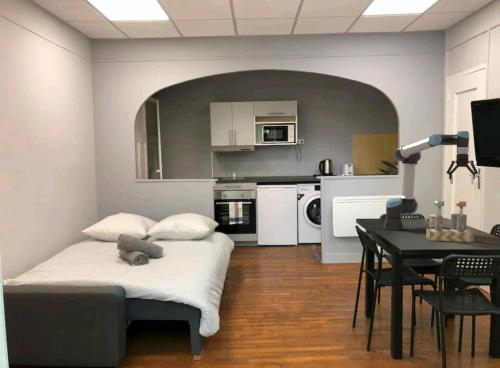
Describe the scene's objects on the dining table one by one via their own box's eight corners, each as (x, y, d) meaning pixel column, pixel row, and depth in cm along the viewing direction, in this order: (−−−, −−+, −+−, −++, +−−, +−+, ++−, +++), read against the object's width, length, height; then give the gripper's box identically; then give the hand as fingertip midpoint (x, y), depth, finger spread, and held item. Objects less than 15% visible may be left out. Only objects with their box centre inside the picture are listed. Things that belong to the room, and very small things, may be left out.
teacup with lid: (439, 226, 352) (440, 212, 351) (442, 228, 343) (443, 213, 342) (424, 225, 354) (424, 211, 353) (426, 227, 345) (427, 213, 344)
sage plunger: (435, 222, 298) (435, 201, 297) (433, 220, 304) (434, 200, 303) (444, 222, 296) (445, 201, 295) (442, 221, 302) (443, 200, 301)
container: (467, 236, 308) (468, 216, 307) (451, 236, 312) (452, 215, 310) (464, 234, 318) (465, 214, 317) (449, 233, 321) (450, 213, 320)
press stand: (429, 240, 297) (430, 217, 295) (426, 237, 308) (426, 214, 307) (473, 242, 291) (474, 218, 290) (468, 238, 302) (469, 215, 301)
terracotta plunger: (457, 222, 295) (457, 202, 294) (454, 221, 301) (455, 201, 300) (466, 223, 294) (467, 202, 292) (464, 221, 299) (465, 201, 298)
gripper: (445, 153, 296) (444, 184, 298) (483, 153, 294) (482, 184, 295) (441, 153, 304) (441, 183, 305) (479, 153, 301) (478, 183, 303)
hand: (461, 184), depth 300 cm, fingers open, 13 cm apart
